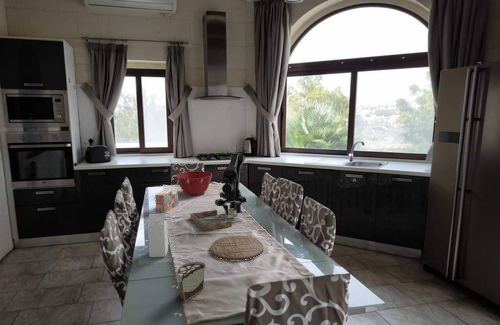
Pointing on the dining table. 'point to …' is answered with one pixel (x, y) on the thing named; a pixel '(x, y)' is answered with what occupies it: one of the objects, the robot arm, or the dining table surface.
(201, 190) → the mixing bowl
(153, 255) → the milk carton
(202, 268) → the cake slice
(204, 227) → the walnut u-shaped frame
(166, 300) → the dining table surface
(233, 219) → the grey mat
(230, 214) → the birch block
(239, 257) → the trivet
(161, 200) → the colourful printed box
